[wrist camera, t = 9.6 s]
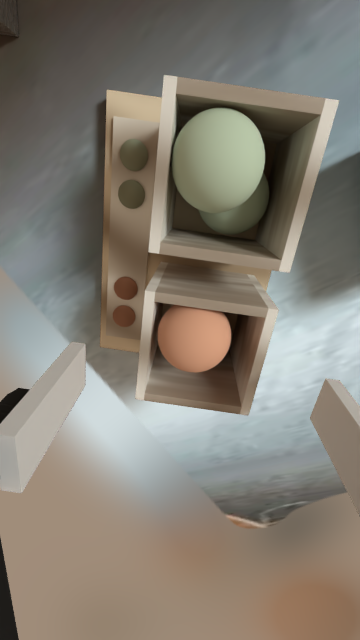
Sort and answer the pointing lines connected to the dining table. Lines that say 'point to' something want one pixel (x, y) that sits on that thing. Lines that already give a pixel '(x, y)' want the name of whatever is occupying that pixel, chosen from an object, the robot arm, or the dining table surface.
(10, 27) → the post
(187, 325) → the ball terracotta
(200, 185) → the ball sage upper
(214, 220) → the ball sage lower
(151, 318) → the rack
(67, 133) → the dining table surface
